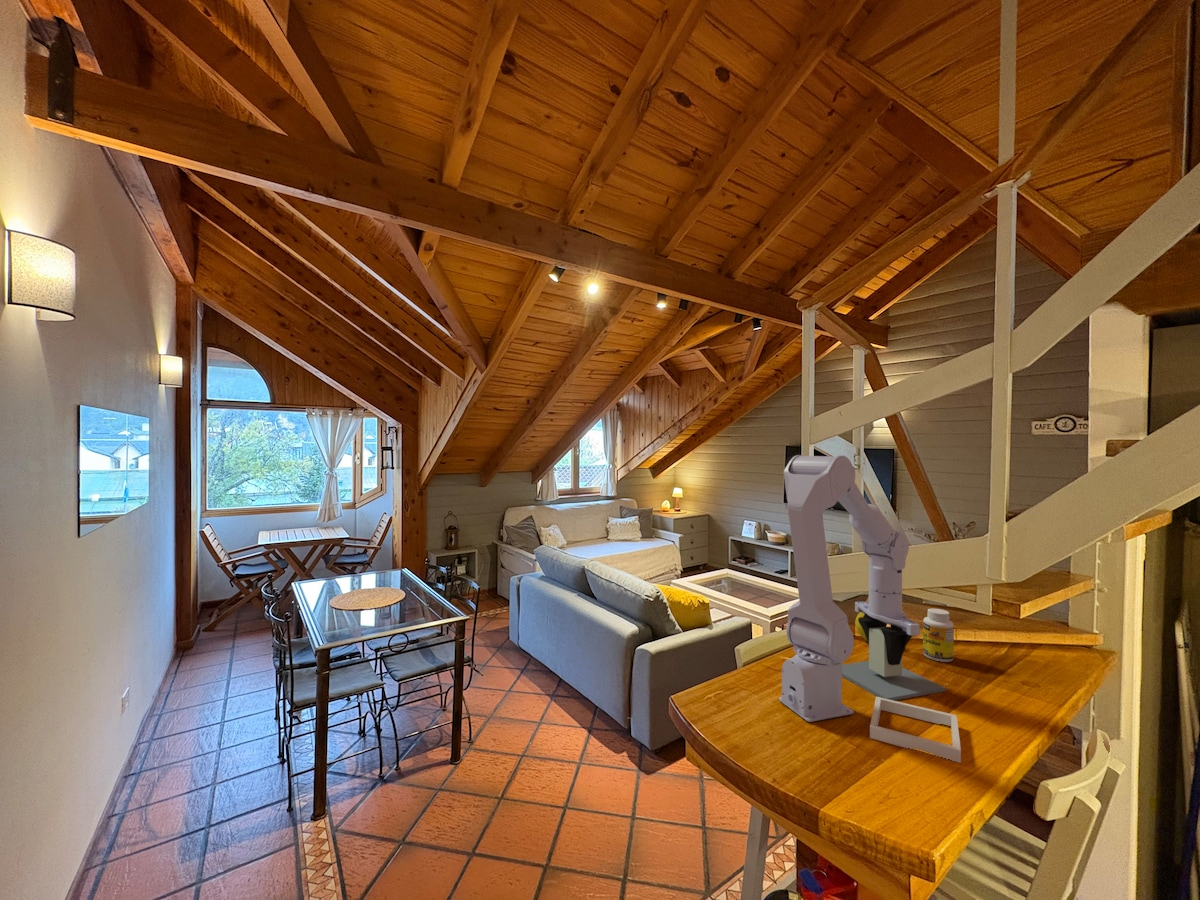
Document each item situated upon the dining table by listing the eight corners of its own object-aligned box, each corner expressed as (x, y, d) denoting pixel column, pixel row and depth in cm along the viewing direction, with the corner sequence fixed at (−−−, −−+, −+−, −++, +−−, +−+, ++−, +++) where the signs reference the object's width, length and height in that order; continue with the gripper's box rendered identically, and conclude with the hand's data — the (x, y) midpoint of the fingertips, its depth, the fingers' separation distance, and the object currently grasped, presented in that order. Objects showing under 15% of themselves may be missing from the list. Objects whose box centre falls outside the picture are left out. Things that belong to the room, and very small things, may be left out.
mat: (886, 701, 91) (886, 698, 91) (829, 669, 104) (829, 666, 104) (945, 691, 95) (945, 687, 95) (883, 661, 108) (883, 658, 108)
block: (902, 675, 98) (902, 633, 98) (884, 677, 97) (884, 635, 97) (886, 666, 102) (886, 626, 102) (869, 668, 101) (869, 628, 101)
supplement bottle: (916, 654, 112) (917, 608, 112) (935, 651, 114) (936, 606, 114) (940, 664, 107) (940, 616, 107) (960, 661, 108) (960, 613, 108)
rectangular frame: (960, 763, 73) (960, 750, 73) (869, 738, 79) (869, 726, 79) (956, 726, 83) (956, 715, 83) (876, 706, 89) (876, 696, 89)
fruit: (875, 637, 122) (875, 604, 122) (885, 646, 116) (886, 611, 116) (851, 636, 123) (851, 603, 123) (860, 645, 117) (860, 610, 117)
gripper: (933, 599, 93) (933, 673, 93) (875, 579, 107) (875, 643, 107) (901, 601, 92) (901, 676, 92) (846, 581, 106) (846, 646, 106)
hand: (885, 659), depth 99 cm, fingers closed on block, 4 cm apart
